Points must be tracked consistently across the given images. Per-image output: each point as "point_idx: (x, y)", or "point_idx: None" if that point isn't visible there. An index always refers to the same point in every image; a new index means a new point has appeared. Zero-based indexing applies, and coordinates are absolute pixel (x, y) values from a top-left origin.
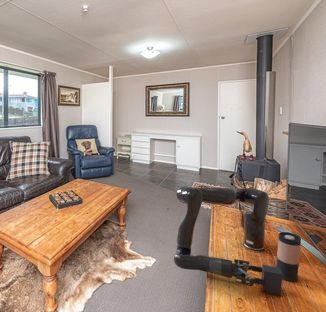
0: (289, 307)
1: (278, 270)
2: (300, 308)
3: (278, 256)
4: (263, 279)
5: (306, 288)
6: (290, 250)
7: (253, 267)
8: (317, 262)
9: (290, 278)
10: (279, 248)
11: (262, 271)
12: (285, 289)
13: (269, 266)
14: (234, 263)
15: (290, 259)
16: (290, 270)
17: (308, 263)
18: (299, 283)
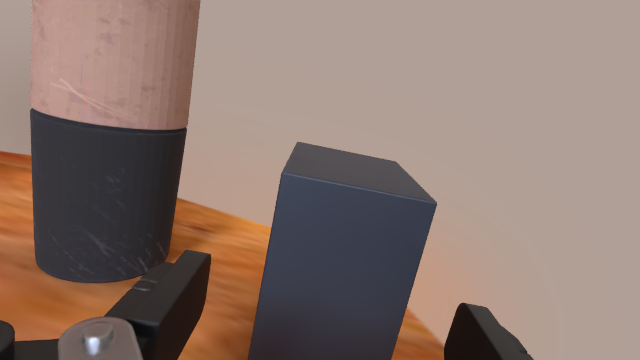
0: (439, 348)
1: (347, 154)
2: (407, 308)
3: (99, 100)
4: (472, 310)
5: (222, 236)
6: (192, 7)
7: (166, 328)
8: (24, 154)
9: (170, 236)
10: (110, 7)
11: (311, 260)
12: (254, 303)
13: (305, 158)
14: None
15: (187, 88)
16: (178, 177)
17: (16, 167)
18: (182, 239)
